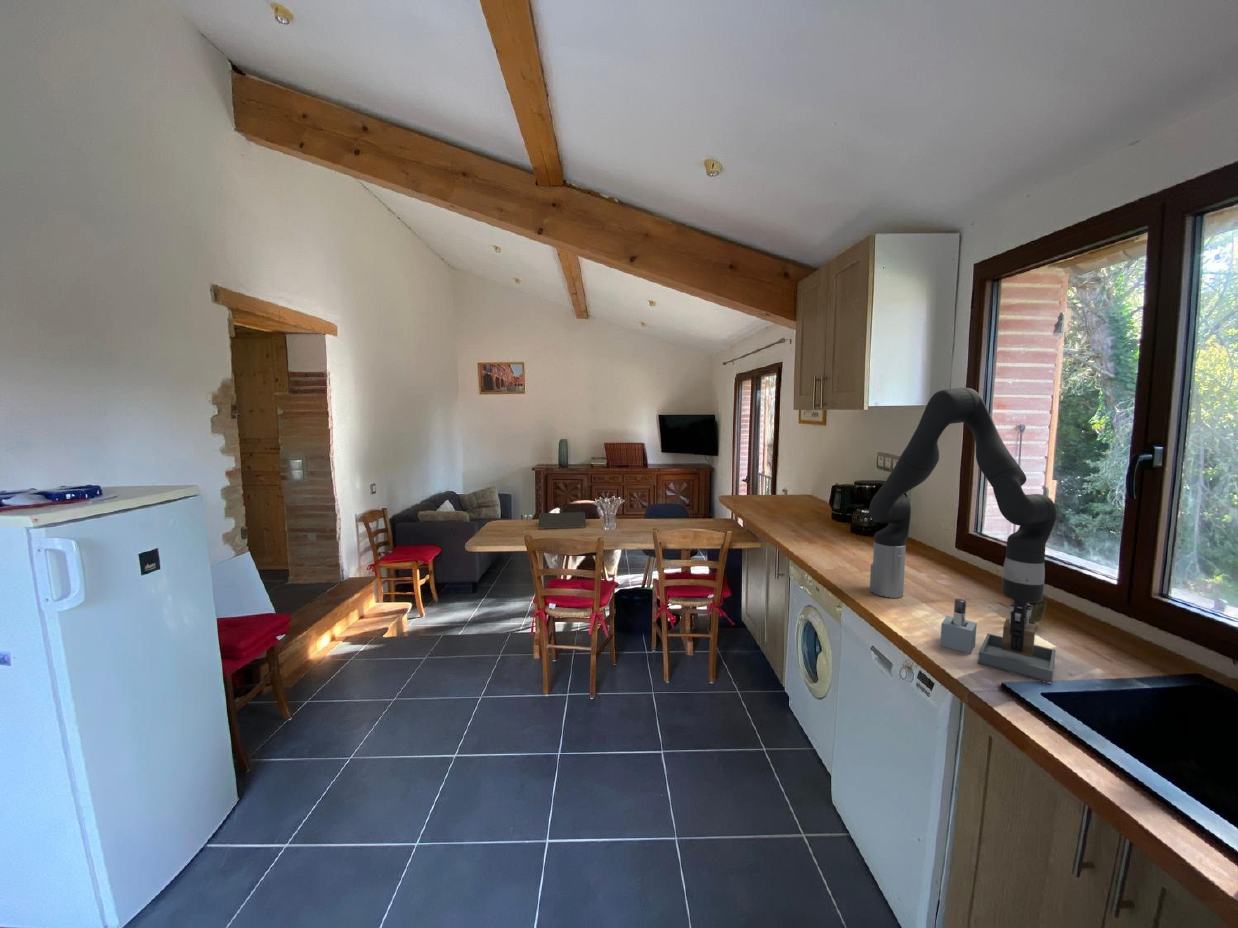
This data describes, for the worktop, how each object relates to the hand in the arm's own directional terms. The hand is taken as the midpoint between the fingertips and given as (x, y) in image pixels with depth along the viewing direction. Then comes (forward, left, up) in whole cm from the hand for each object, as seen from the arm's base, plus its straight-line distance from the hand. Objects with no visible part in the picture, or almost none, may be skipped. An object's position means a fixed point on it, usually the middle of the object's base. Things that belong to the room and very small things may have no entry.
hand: (1017, 645), depth 117 cm
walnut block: (0, 0, -1) cm, 1 cm away
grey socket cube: (-12, +1, -4) cm, 13 cm away
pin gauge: (-12, +1, -4) cm, 13 cm away
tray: (0, 0, -4) cm, 4 cm away
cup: (0, +28, -4) cm, 28 cm away
